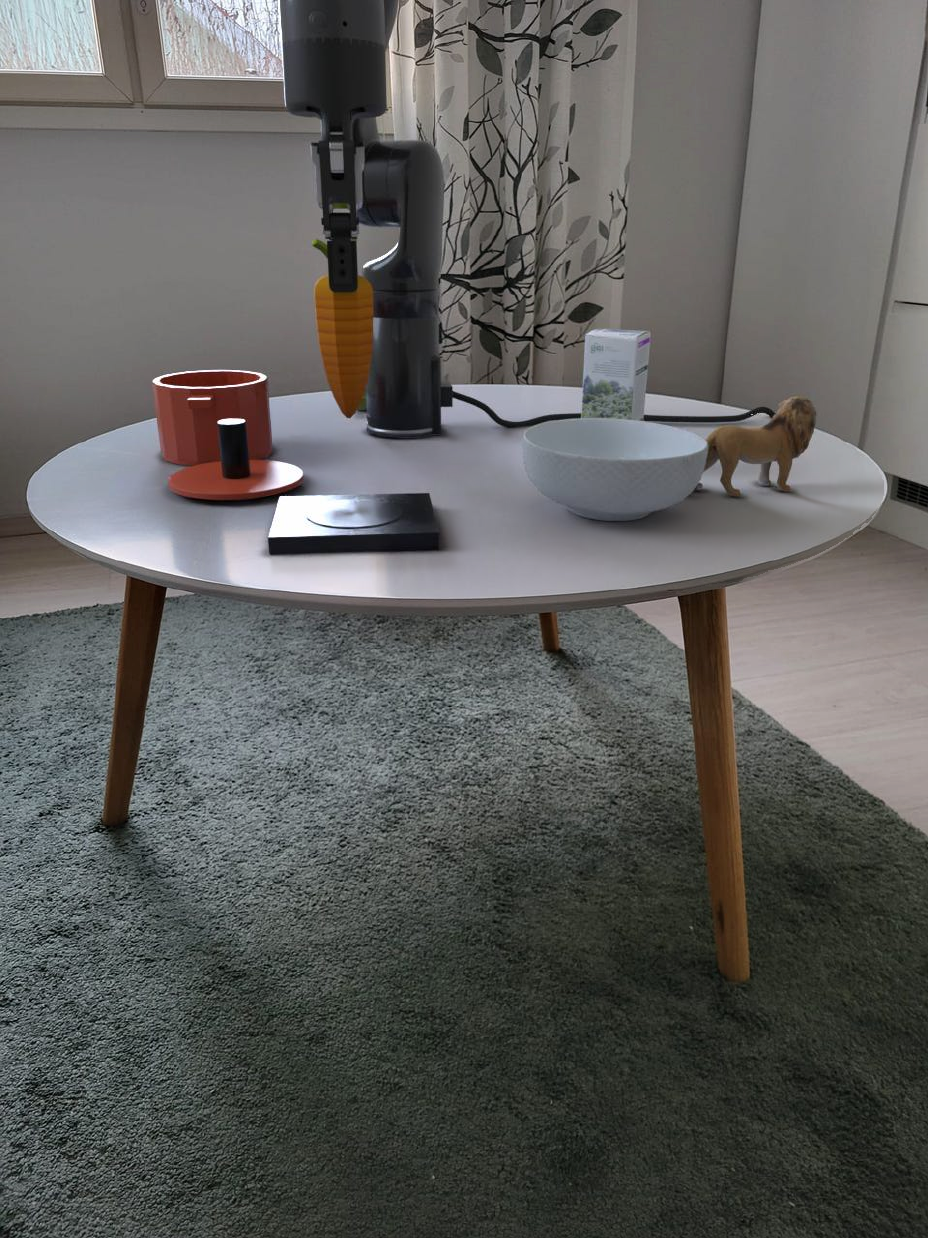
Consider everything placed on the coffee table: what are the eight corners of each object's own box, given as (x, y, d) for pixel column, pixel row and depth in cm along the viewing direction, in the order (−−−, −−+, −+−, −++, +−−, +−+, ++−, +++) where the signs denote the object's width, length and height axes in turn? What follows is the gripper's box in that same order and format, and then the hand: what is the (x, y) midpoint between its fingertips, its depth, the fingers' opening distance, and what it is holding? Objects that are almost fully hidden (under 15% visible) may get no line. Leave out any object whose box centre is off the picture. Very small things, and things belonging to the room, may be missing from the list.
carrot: (368, 425, 76) (361, 225, 70) (310, 422, 77) (298, 224, 71) (385, 413, 80) (380, 224, 74) (330, 411, 81) (320, 224, 75)
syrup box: (641, 463, 105) (652, 329, 99) (627, 475, 100) (637, 335, 94) (593, 458, 107) (600, 326, 101) (576, 469, 102) (583, 332, 96)
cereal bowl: (575, 547, 78) (580, 464, 76) (491, 496, 92) (492, 424, 90) (738, 523, 85) (748, 446, 82) (636, 479, 99) (642, 412, 96)
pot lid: (307, 469, 102) (303, 407, 99) (300, 504, 90) (295, 434, 87) (181, 471, 101) (174, 409, 98) (157, 507, 88) (148, 437, 86)
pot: (278, 435, 117) (272, 365, 114) (265, 471, 101) (258, 391, 97) (177, 437, 116) (168, 367, 112) (147, 473, 100) (136, 393, 96)
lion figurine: (782, 475, 100) (795, 391, 97) (819, 488, 96) (834, 399, 92) (672, 491, 94) (680, 401, 91) (706, 505, 90) (717, 411, 86)
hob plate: (429, 507, 89) (429, 491, 88) (439, 549, 78) (439, 531, 77) (280, 511, 87) (279, 495, 87) (269, 554, 76) (267, 536, 76)
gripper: (387, 24, 62) (394, 297, 68) (383, 56, 75) (388, 282, 81) (272, 21, 61) (290, 297, 68) (288, 54, 74) (302, 283, 81)
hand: (344, 288), depth 75 cm, fingers closed on carrot, 4 cm apart
